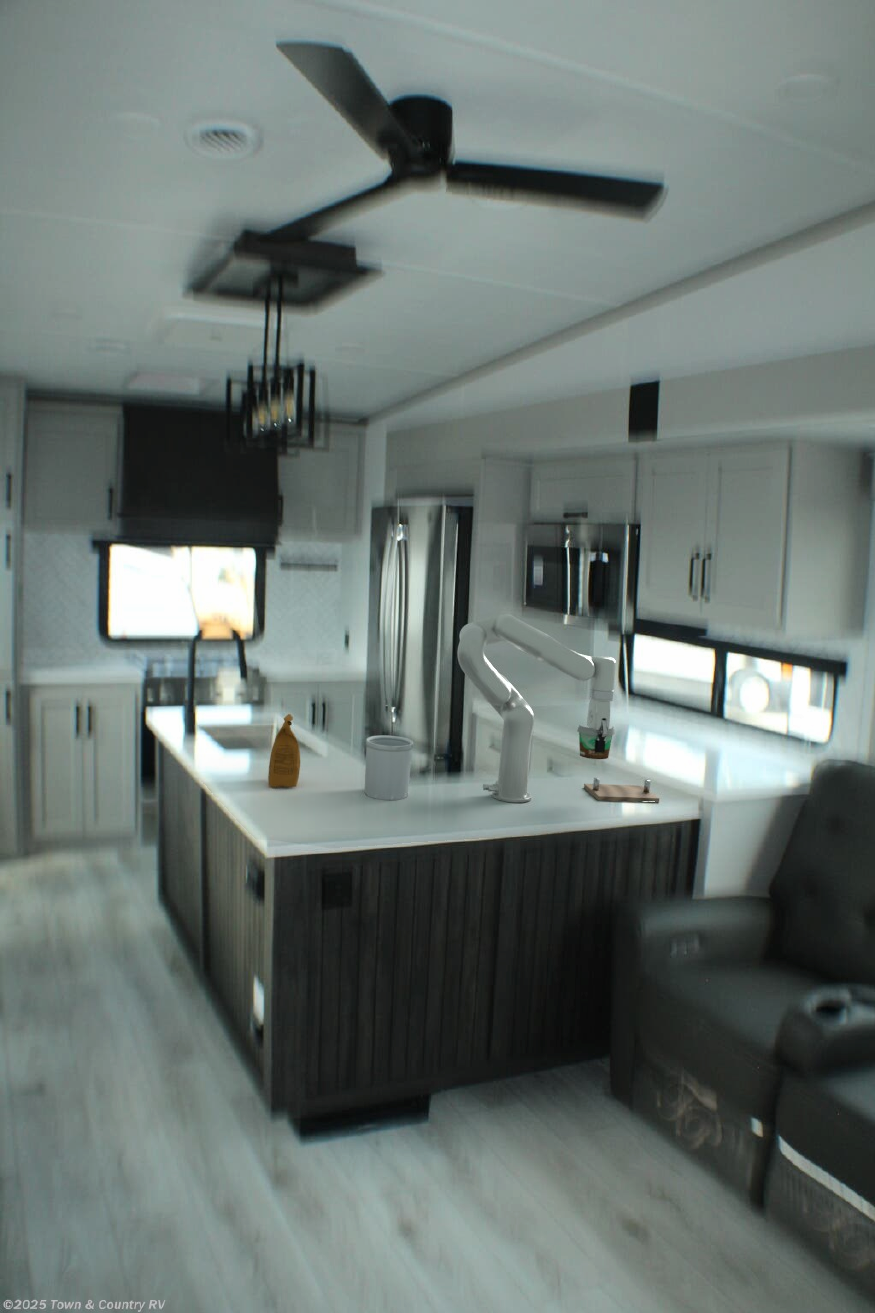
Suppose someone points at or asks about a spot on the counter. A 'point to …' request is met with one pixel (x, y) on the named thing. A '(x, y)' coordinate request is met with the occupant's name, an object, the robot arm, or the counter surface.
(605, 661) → the robot arm
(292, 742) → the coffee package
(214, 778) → the counter surface
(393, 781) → the utensil holder
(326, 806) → the counter surface
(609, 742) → the food container
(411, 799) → the counter surface
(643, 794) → the board
